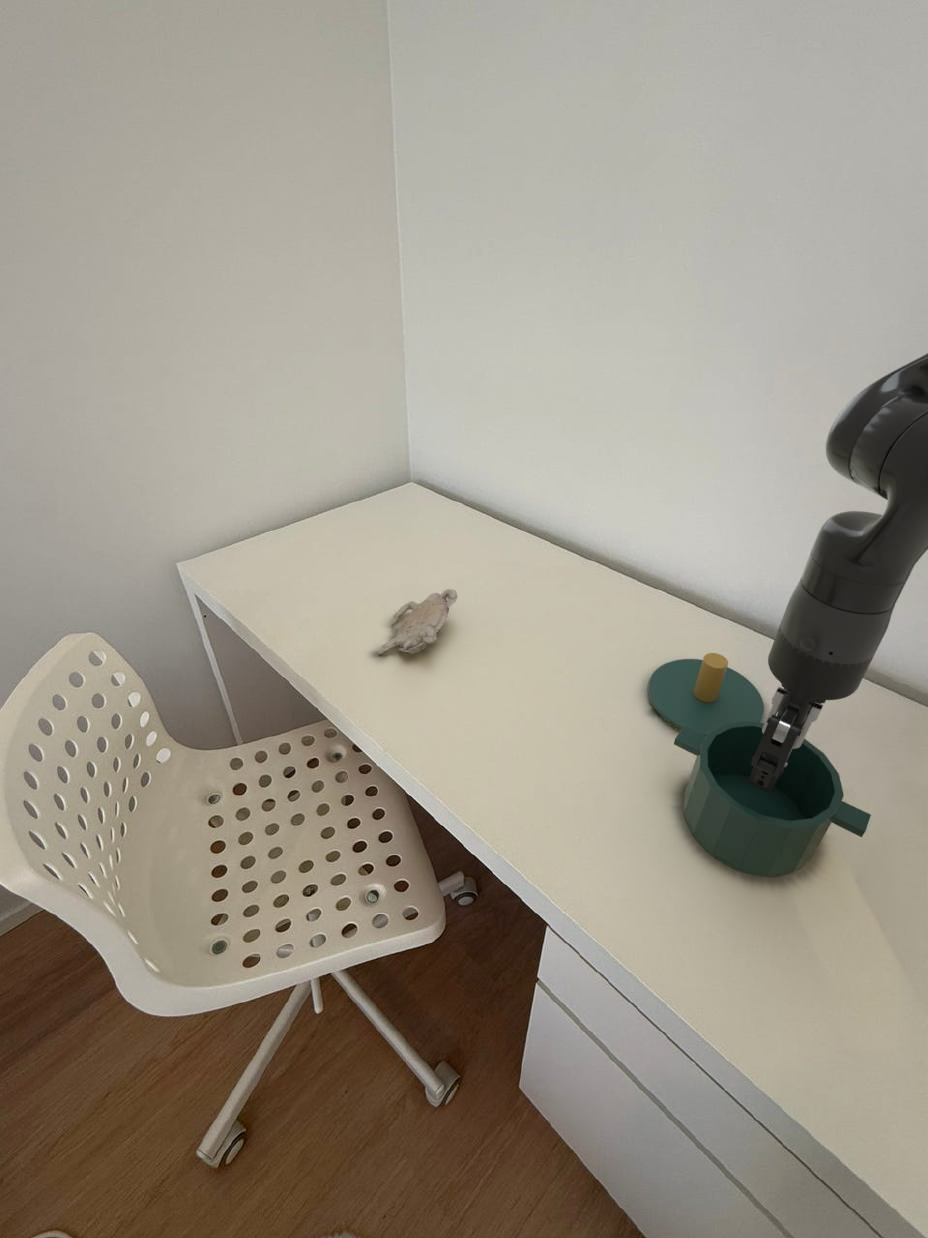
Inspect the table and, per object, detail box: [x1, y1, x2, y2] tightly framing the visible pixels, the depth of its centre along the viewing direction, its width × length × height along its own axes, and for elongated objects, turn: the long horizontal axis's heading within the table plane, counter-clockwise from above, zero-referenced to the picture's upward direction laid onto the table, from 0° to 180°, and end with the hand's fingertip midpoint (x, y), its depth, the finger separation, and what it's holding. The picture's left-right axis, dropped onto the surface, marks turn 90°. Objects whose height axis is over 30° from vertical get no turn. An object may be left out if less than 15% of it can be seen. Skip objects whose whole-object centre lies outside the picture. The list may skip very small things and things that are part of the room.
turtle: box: [378, 588, 458, 655], centre depth 95 cm, size 16×10×10 cm, turn 7°
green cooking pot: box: [673, 721, 872, 878], centre depth 69 cm, size 14×19×8 cm
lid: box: [647, 652, 765, 736], centre depth 84 cm, size 15×15×7 cm
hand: (774, 758), depth 65 cm, fingers open, 8 cm apart
